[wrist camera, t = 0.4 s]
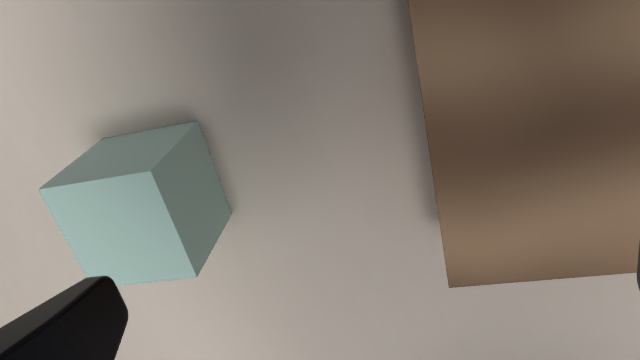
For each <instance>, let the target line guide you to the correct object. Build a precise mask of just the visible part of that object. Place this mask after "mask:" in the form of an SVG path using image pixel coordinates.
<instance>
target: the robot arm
mask: <svg viewBox="0 0 640 360" xmlns="http://www.w3.org/2000/svg"><path fill="white" fill-rule="evenodd" d="M637 282H638V287H639V290H640V241H639V253H638V265H637ZM127 321H128V310H127V307H126V305H125V303H124V301H123V299H122V297H121V294H120V292H119V290H118V288H117V286H116V284H115V282H114V281H113V279H112V278H110V277H109V276H94V277H88V278H85V279H83V280H82V281H80V282H78V283H77V284H75V285H73V286H71V287H70V288H68V289H66V290H65V291H63V292H61V293H59V294H58V295H56V296H54V297H53V298H51V299H49V300H47V301H46V302H44V303H42V304H41V305H39V306H37V307H35V308H34V309H32V310H30V311H29V312H27V313H25V314H23V315H22V316H20V317H18V318H17V319H15V320H13V321H11V322H10V323H8V324H6V325H5V326H3V327H1V328H0V360H114V359H115V356H116V354H117V351H118V348H119V345H120V342H121V339H122V336H123V333H124V330H125V328H126V325H127Z"/></svg>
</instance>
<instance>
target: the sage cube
mask: <svg viewBox="0 0 640 360" xmlns="http://www.w3.org/2000/svg"><path fill="white" fill-rule="evenodd" d="M38 191H39V193H40V194H41V196H42V198H43V200H44V202H45V203H46V205H47V207H48V209H49V211H50V212H51V214H52V216H53V218H54V219H55V221H56V223H57V225H58V227H59V228H60V230H61V232H62V234H63V236H64V237H65V239H66V241H67V243H68V245H69V246H70V248H71V250H72V252H73V254H74V255H75V257H76V259H77V261H78V263H79V264H80V266H81V268H82V270H83V272H84V273H85V275H86V277H87V278H88V277H94V276H109V277H110V278H112V279H113V281H114V282H115V284H116V286H120V285H130V284H139V283H148V282H158V281H167V280H177V279H186V278H195V277H197V276H198V274H199V273H200V271H201V269H202V267H203V265H204V263H205V262H206V260H207V258H208V256H209V254H210V253H211V251H212V249H213V247H214V245H215V243H216V242H217V240H218V238H219V236H220V234H221V232H222V231H223V229H224V227H225V225H226V223H227V222H228V220H229V218H230V216H231V214H232V213H231V210H230V207H229V204H228V202H227V199H226V196H225V194H224V191H223V188H222V186H221V183H220V180H219V177H218V175H217V172H216V169H215V167H214V164H213V161H212V159H211V156H210V153H209V150H208V148H207V145H206V142H205V140H204V137H203V134H202V132H201V129H200V126H199V123H198V121H195V122H189V123H184V124H179V125H173V126H168V127H163V128H157V129H152V130H146V131H141V132H136V133H130V134H125V135H120V136H114V137H109V138H104V139H102V140H100V141H99V142H98V143H96V144H95V145H94V146H93V147H91V148H90V149H89V150H88V151H86V152H85V153H84V154H82V155H81V156H80V157H79V158H77V159H76V160H75V161H74V162H72V163H71V164H70V165H69V166H67V167H66V168H65V169H63V170H62V171H61V172H60V173H58V174H57V175H56V176H55V177H53V178H52V179H51V180H49V181H48V182H47V183H46V184H44V185H43V186H42V187H41V188H39V189H38Z"/></svg>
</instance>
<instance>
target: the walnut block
mask: <svg viewBox="0 0 640 360" xmlns="http://www.w3.org/2000/svg"><path fill="white" fill-rule="evenodd" d="M408 5H409V12H410V19H411V26H412V33H413V40H414V47H415V54H416V61H417V68H418V75H419V82H420V89H421V96H422V103H423V110H424V117H425V124H426V131H427V138H428V145H429V152H430V159H431V166H432V173H433V180H434V187H435V194H436V201H437V208H438V214H439V221H440V228H441V235H442V242H443V249H444V256H445V263H446V270H447V277H448V284H449V288H453V287H465V286H477V285H489V284H501V283H514V282H526V281H538V280H550V279H562V278H575V277H587V276H599V275H611V274H623V273H636V272H637V265H638V253H639V241H640V0H408Z"/></svg>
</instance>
